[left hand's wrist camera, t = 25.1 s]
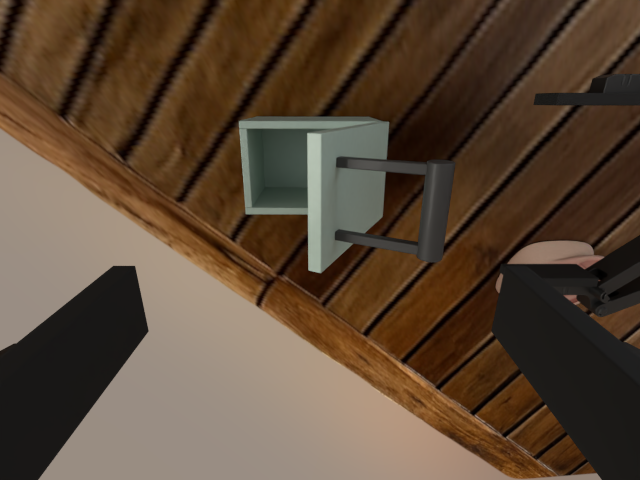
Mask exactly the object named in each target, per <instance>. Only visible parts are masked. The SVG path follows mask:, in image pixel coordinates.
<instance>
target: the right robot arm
mask: <svg viewBox="0 0 640 480" xmlns="http://www.w3.org/2000/svg"><path fill="white" fill-rule="evenodd" d="M534 105H640V74H613V75H601V76H598V77H596V78H593V79H592V83H591V87H590V91H589V93H543V94H536V95H535V100H534ZM505 266H527V267H529V268H530V269H531V270H532V271H534V272H535V273H536V274H537V275H539V276H540V277H541V278H542V279H544V280H545V281H546V282H547V283H549V284H550V285H551V286H552V287H554V288H555V289H556V290H557V291H559V292H560V293H561V294H562V295H577V296H576V299H577V301H579V302H580V303H581V304H583V305H584V306H585V307H586V308H588V309H589V310H590V311H592V312H593V313H594V314H595V315H597V316H599V317H603V316H606V315H609V314H612V313H615V312H617V311H620V310H623V309H625V308H628V307H631V306H633V305H636V304H639V303H640V235H639V236H638V237H636V238H635V239H633V240H631V241H630V242H628V243H626V244H625V245H623V246H622V247H620V248H618V249H617V250H615V251H614V252H612V253H610V254H609V255H607V256H606V257H604V258H602V259H601V260H599V261H597V262H596V263H594V264H593V265H591V266H589V267H588V268H586V269H584V268H582V267H580V266H579V265H577V264H501V267H500V273H501V274H502V275H503V274H504V269H505ZM598 280H600V281H598Z"/></svg>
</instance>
